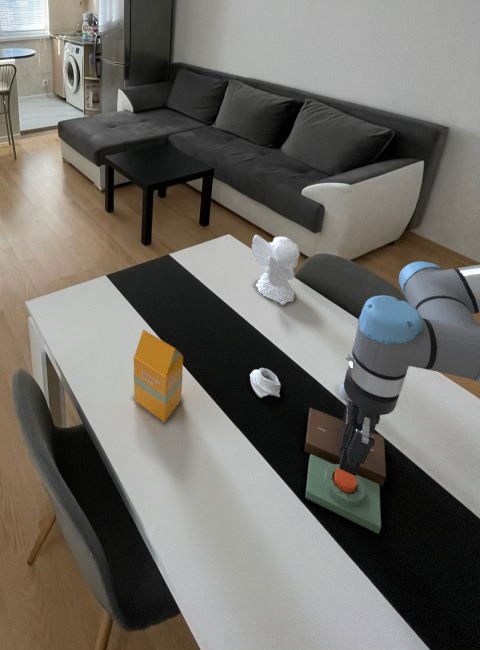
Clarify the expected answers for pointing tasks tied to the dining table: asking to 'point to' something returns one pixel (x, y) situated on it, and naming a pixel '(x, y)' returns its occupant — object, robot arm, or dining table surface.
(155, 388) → the orange juice
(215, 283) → the dining table surface
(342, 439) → the red-tipped grey box
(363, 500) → the button block
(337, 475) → the button
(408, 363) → the robot arm
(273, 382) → the white folded cloth ring
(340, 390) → the rook chess piece
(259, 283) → the cherub figurine
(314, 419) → the panel
